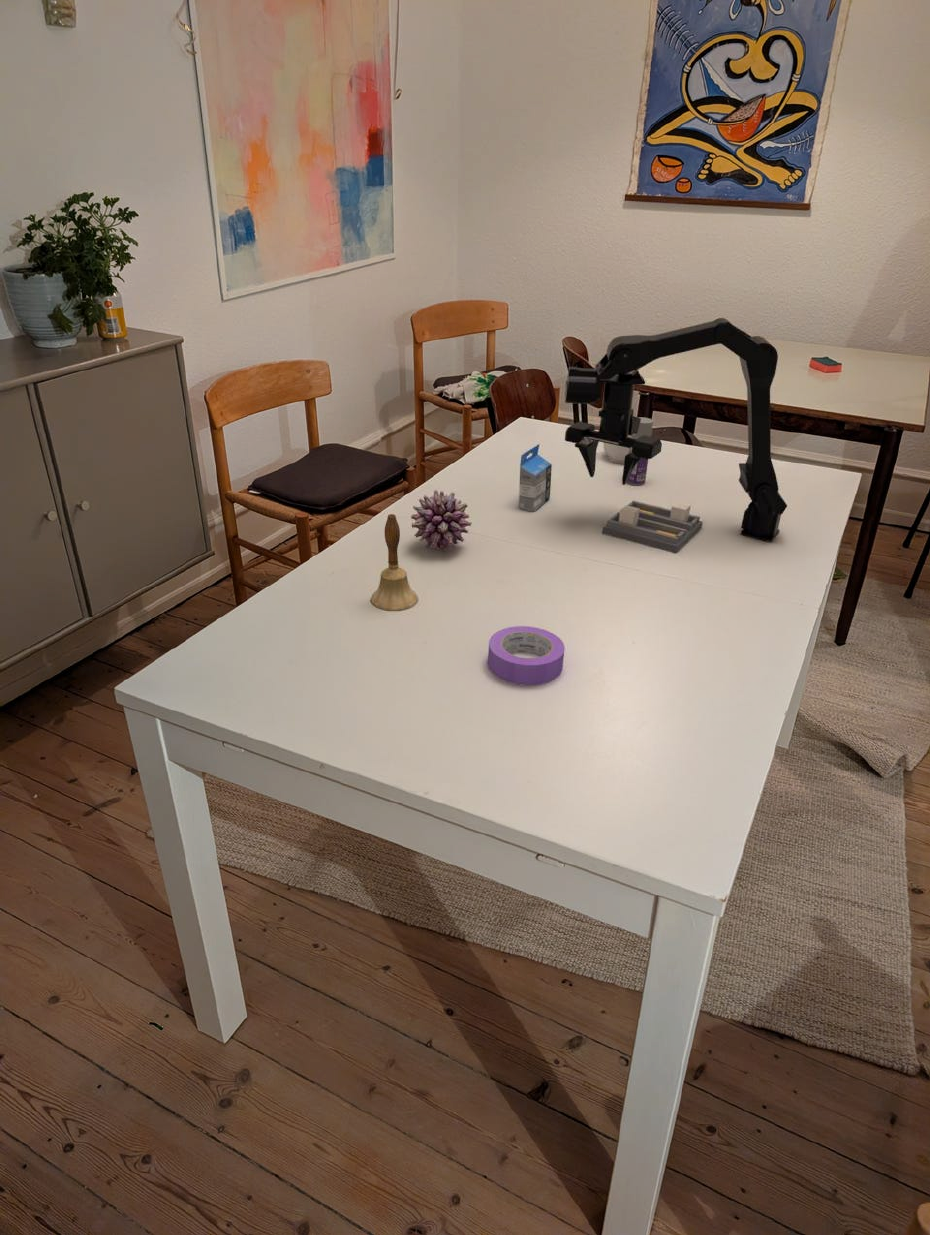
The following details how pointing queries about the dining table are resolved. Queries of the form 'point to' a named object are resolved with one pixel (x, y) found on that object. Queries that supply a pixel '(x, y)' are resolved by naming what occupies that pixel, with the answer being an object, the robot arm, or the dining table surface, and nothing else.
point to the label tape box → (534, 480)
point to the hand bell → (393, 576)
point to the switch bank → (654, 528)
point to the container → (641, 467)
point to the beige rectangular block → (680, 512)
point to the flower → (440, 520)
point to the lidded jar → (616, 452)
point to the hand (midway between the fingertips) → (608, 480)
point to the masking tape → (525, 668)
